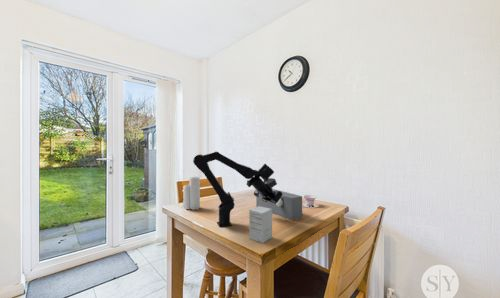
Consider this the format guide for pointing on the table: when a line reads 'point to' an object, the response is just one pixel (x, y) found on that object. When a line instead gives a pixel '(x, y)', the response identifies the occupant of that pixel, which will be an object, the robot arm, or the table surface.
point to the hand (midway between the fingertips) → (275, 203)
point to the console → (284, 206)
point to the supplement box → (260, 224)
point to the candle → (192, 194)
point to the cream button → (279, 202)
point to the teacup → (309, 201)
